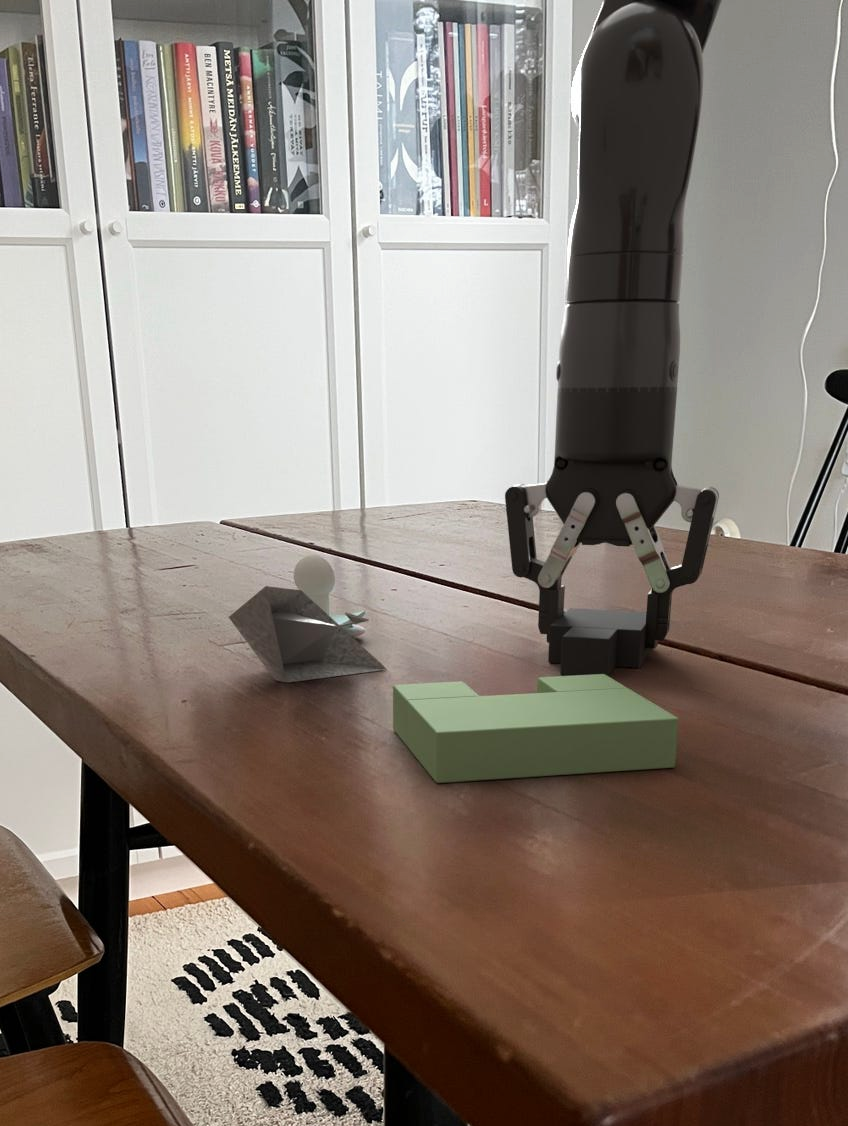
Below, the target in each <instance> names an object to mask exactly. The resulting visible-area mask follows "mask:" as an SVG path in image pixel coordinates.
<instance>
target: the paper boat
mask: <svg viewBox="0 0 848 1126" xmlns="http://www.w3.org/2000/svg"><path fill="white" fill-rule="evenodd" d="M353 614H354V613H349V612H346V611H345V613H344V615H346V616H347V617H348V618H349V619H350V620H351V621H352V622H351V623H347V624H342V625H339V624H337V623H336V622H335V621H334V620H333V619H332V618H331V617H330V616H331V615H330V614H329V615H328V614H327V613H325V612H324V611H323V610H322V609H321V608H320V607H319V606H318V605H317V604H316V603H315V602H313V601H312V600H311V599H310V598H309V597H308V596H307V595H306V594H305V593H304V592H303V591H301V590H298V589H295V588H284V587H278V586H270V585H265V586H264V587H263V588H262V589H260V590H259V591H258V592H257V593H256V594H254V595H253V596H252V597H251V598H250V599H248V600H247V601H245V603H244V604H243V605H241V606H240V607H238V609H237V610H235V611H234V612H233V613H232V614H230V615H229V616H228V619H229V620H230V622H231V623H232V625H233V626H234V627H235V629H236V630H237V631H238V632H239V634H240V635H241V636H242V637H243V639H244V640H245V642H246V643H247V644H248V646H249V647H250V649H251V650H252V651H253V652H254V654H255V655H256V657H257V658H258V659H259V660H260V662H261V663H262V665H263V666H264V667H265V668H266V670H267V671H268V673H269V674H270V675H271V676H272V678H273V680H274V681H276V682H281V683H286V684H287V683H293V682H301V681H302V682H303V681H309V680H317V679H325V678H332V677H340V676H347V675H356V674H362V673H363V674H364V673H373V672H378V671H380V672H381V671H387V670H388V668H387V667H386V666H385V665H383V664H382V663H381V662H380V661H379V660H378V659H377V658H376V657H375V656H374V655H372V654H371V653H370V652H369V651H368V650H367V649H366V648H365V647H364V646H363V645H362V644H361V643H359V641H357V640H356V639H355V638H354V637H352V636H351V635H349V634H348V633H347V632H346V631H345V630H344V629H343V628H342V626H347V625H352V624H354V625H359V624H361V623H365V622H368V621H370V620H369V618H366V617H364V616H363V617H359V616H356V615H353Z"/></svg>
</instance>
